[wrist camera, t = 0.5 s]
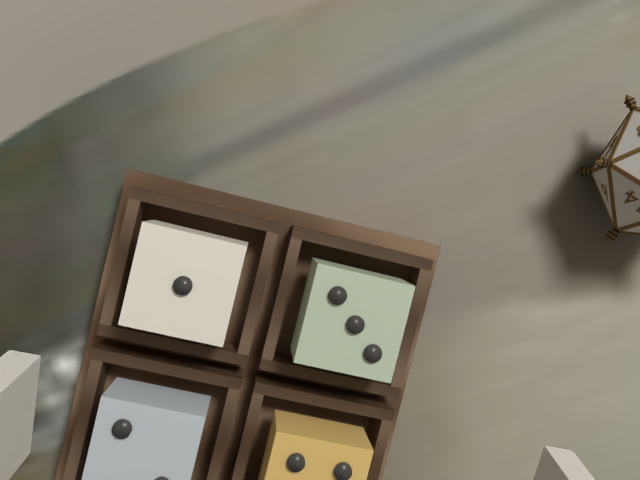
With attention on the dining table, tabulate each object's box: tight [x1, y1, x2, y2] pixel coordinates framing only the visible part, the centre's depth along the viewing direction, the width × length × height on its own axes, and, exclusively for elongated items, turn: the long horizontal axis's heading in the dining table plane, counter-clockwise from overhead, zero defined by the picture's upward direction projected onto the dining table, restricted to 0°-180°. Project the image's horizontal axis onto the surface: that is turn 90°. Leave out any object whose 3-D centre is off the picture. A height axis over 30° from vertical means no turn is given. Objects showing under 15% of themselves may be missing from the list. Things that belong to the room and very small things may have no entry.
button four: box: [258, 409, 374, 480], centre depth 29 cm, size 5×5×3 cm
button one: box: [118, 220, 248, 347], centre depth 28 cm, size 5×5×3 cm
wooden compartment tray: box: [55, 169, 441, 480], centre depth 32 cm, size 18×18×4 cm
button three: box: [290, 257, 416, 383], centre depth 29 cm, size 5×5×3 cm
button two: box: [82, 377, 211, 480], centre depth 28 cm, size 5×5×3 cm
